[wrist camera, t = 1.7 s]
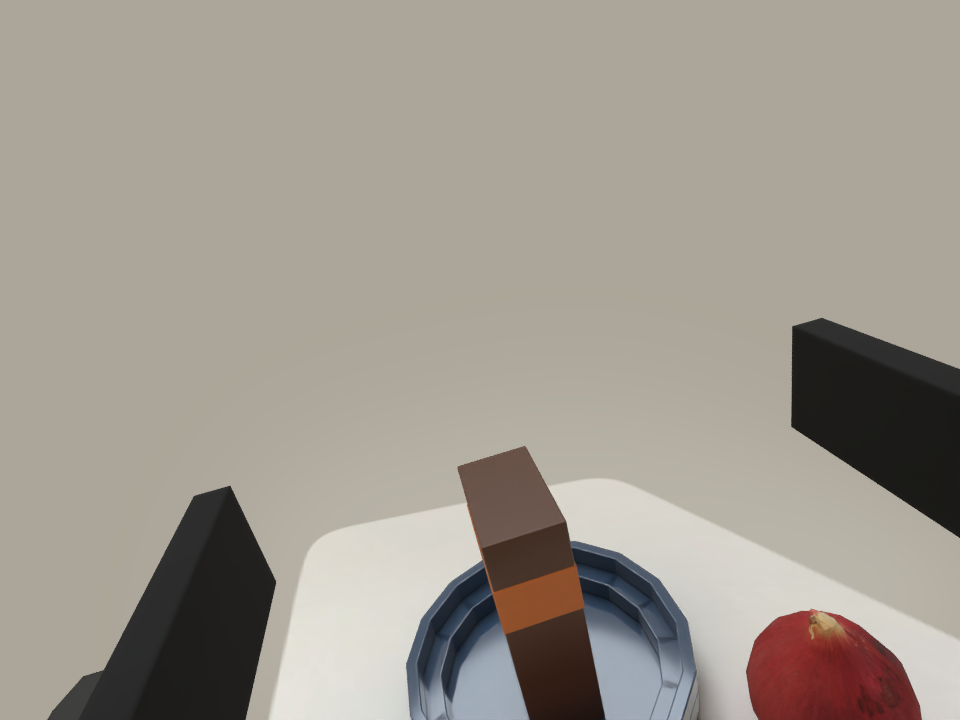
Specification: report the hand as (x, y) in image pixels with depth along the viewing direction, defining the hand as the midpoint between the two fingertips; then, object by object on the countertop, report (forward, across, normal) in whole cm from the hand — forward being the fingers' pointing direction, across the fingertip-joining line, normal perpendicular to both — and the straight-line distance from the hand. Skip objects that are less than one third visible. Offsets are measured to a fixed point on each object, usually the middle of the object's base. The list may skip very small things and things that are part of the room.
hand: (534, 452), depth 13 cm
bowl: (+9, 0, -20) cm, 22 cm away
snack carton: (+9, 0, -20) cm, 22 cm away
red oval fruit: (+2, +10, -20) cm, 23 cm away
